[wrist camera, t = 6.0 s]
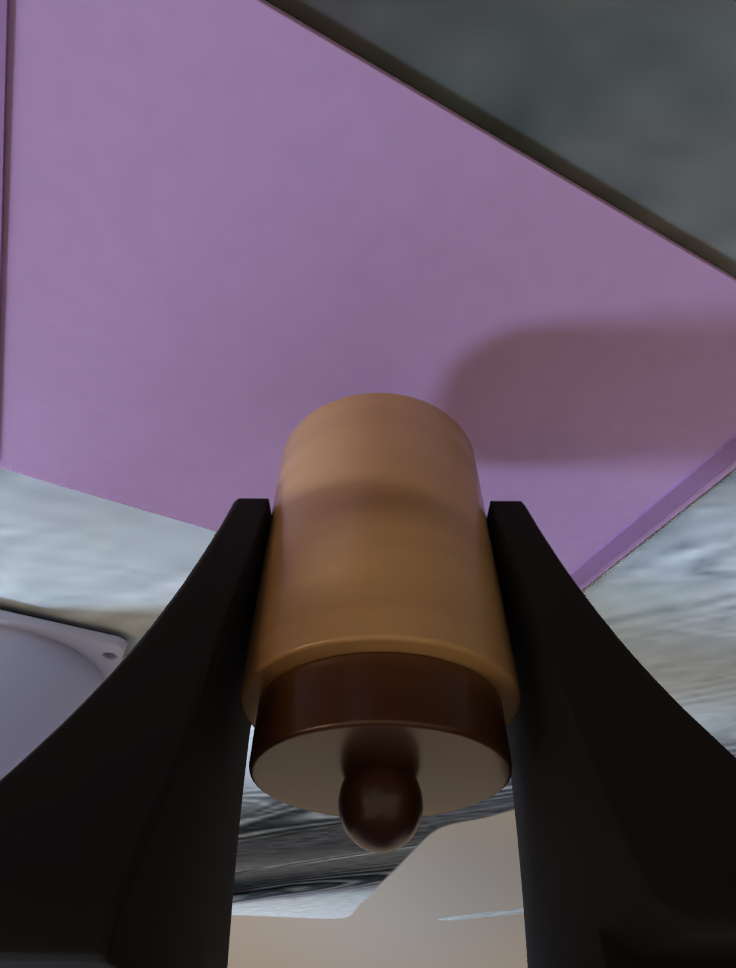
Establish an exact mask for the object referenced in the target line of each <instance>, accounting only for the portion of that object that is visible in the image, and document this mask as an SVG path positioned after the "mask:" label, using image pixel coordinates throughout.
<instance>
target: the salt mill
mask: <svg viewBox="0 0 736 968" xmlns="http://www.w3.org/2000/svg"><path fill="white" fill-rule="evenodd" d="M520 700H521V693H520V688H519V683H518V677H517V672H516V667H515V662H514V657H513V652H512V646H511V641H510V636H509V631H508V626H507V621H506V616H505V610H504V605H503V600H502V595H501V590H500V585H499V579H498V574H497V569H496V564H495V559H494V554H493V549H492V543H491V538H490V533H489V528H488V523H487V518H486V512H485V507H484V502H483V497H482V492H481V487H480V482H479V476H478V471H477V466H476V461H475V456H474V451H473V448H472V445H471V442H470V440H469V438H468V437H467V435H466V433H465V432H464V430H463V429H462V428H461V427H460V426H459V424H458V423H457V422H456V421H455V420H454V419H452V418H451V417H450V416H449V415H448V414H447V413H445V412H443V411H442V410H440V409H439V408H437V407H436V406H433V405H431V404H429V403H427V402H425V401H422V400H419V399H416V398H413V397H410V396H405V395H400V394H392V393H365V394H357V395H352V396H348V397H344V398H341V399H338V400H335V401H332V402H330V403H328V404H326V405H324V406H322V407H320V408H318V409H317V410H315V411H314V412H312V413H311V414H309V415H308V416H307V417H306V418H305V419H304V420H302V421H301V422H300V423H299V424H298V425H297V427H296V428H295V429H294V430H293V431H292V433H291V435H290V436H289V438H288V440H287V442H286V444H285V447H284V449H283V454H282V459H281V464H280V470H279V476H278V481H277V487H276V493H275V498H274V504H273V510H272V516H271V521H270V527H269V533H268V538H267V544H266V550H265V555H264V561H263V566H262V572H261V578H260V583H259V589H258V595H257V600H256V606H255V612H254V617H253V623H252V629H251V634H250V640H249V646H248V651H247V657H246V663H245V668H244V674H243V680H242V685H241V691H240V704H241V707H242V710H243V712H244V715H245V716H246V718H247V719H248V721H249V722H250V723H251V724H252V725H253V726H254V727H255V729H254V736H253V742H252V749H251V756H250V762H249V771H250V775H251V778H252V780H253V782H254V783H255V784H256V785H257V787H259V788H260V789H261V790H262V791H263V792H265V793H266V794H268V795H269V796H271V797H273V798H275V799H277V800H279V801H281V802H284V803H286V804H289V805H292V806H294V807H298V808H301V809H305V810H309V811H313V812H317V813H322V814H328V815H334V816H340V820H341V823H342V825H343V828H344V829H345V831H346V833H347V834H348V836H349V837H350V838H351V839H352V840H353V841H354V842H355V843H356V844H357V845H358V846H360V847H361V848H363V849H365V850H367V851H371V852H374V853H388V852H392V851H395V850H397V849H399V848H401V847H402V846H404V845H405V844H406V843H407V842H408V841H409V840H410V839H411V838H412V837H413V836H414V834H415V833H416V831H417V829H418V827H419V824H420V822H421V818H422V816H429V815H435V814H441V813H446V812H450V811H455V810H458V809H462V808H465V807H468V806H471V805H474V804H476V803H479V802H481V801H483V800H486V799H488V798H490V797H491V796H493V795H495V794H496V793H498V792H499V791H500V790H501V789H503V788H504V787H505V785H506V784H507V783H508V782H509V780H510V777H511V775H512V767H513V765H512V759H511V753H510V747H509V741H508V735H507V729H506V727H507V726H508V725H509V724H510V723H511V722H512V720H513V719H514V717H515V716H516V714H517V712H518V709H519V707H520Z"/></svg>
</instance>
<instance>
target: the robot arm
mask: <svg viewBox="0 0 736 968" xmlns="http://www.w3.org/2000/svg"><path fill="white" fill-rule="evenodd" d="M271 516H272V514H271V508H270V502H269V499H267V498H238V499H237V500H236V501H235V502H234V503H233V505H232V507H231V508H230V510H229V512H228V514H227V516H226V517H225V519H224V521H223V523H222V524H221V526H220V528H219V530H218V531H217V533H216V534H215V536H214V538H213V539H212V541H211V543H210V544H209V546H208V547H207V549H206V551H205V552H204V554H203V555H202V557H201V558H200V560H199V561H198V563H197V564H196V566H195V567H194V569H193V570H192V572H191V573H190V574H189V576H188V577H187V579H186V580H185V582H184V583H183V585H182V586H181V588H180V589H179V590H178V592H177V593H176V594H175V596H174V597H173V598H172V600H171V601H170V602H169V604H168V605H167V606H166V608H165V609H164V610H163V612H162V613H161V614H160V616H159V617H158V618H157V620H156V621H155V622H154V624H153V625H152V626H151V627H150V629H149V630H148V631H147V632H146V633H145V635H144V636H143V637H142V638H141V640H140V641H139V642H138V643H137V644H136V646H135V647H134V648H133V649H132V650H131V651H130V653H129V654H128V655H127V656H126V657H125V658H124V659H123V656H124V653H125V650H126V648H127V642H126V641H125V640H124V639H123V638H121V637H118V636H115V635H110V634H106V633H102V632H97V631H93V630H88V629H84V628H79V627H75V626H71V625H66V624H62V623H57V622H53V621H49V620H44V619H40V618H35V617H31V616H26V615H22V614H18V613H13V612H9V611H4V610H0V968H227V965H228V950H229V936H230V925H231V912H232V900H233V887H234V877H235V866H236V855H237V844H238V834H239V824H240V814H241V805H242V795H243V786H244V777H245V768H246V760H247V751H248V743H249V734H250V728H251V723H250V722H249V721H248V719H247V718H246V716H245V715H244V712H243V710H242V707H241V704H240V691H241V685H242V680H243V674H244V668H245V663H246V657H247V651H248V646H249V640H250V634H251V629H252V623H253V617H254V612H255V606H256V600H257V595H258V589H259V583H260V578H261V572H262V566H263V561H264V555H265V550H266V544H267V538H268V533H269V527H270V521H271ZM487 523H488V528H489V533H490V538H491V543H492V549H493V554H494V559H495V564H496V569H497V574H498V579H499V585H500V590H501V595H502V600H503V605H504V610H505V616H506V621H507V626H508V631H509V636H510V641H511V646H512V652H513V657H514V662H515V667H516V672H517V677H518V683H519V688H520V693H521V700H520V707H519V709H518V712H517V714H516V716H515V717H514V719H513V720H512V722H511V723H510V724H509V725H508V726H507V727H506V729H507V735H508V741H509V747H510V753H511V759H512V765H513V767H512V775H511V780H512V789H513V798H514V808H515V816H516V827H517V835H518V836H517V837H518V848H519V859H520V869H521V881H522V892H523V906H524V920H525V932H526V947H527V963H528V968H736V758H735V757H734V756H733V755H732V754H731V753H730V752H729V751H728V750H727V749H726V748H725V747H724V746H722V745H721V744H720V743H719V742H718V741H717V740H716V739H715V738H714V737H713V736H712V735H711V734H710V733H709V732H708V731H706V730H705V729H704V728H703V727H702V726H701V725H700V724H699V723H698V722H697V721H696V720H695V719H694V718H693V717H692V716H691V715H689V714H688V713H687V712H686V711H685V710H684V709H683V708H682V707H681V706H680V705H679V704H678V703H677V702H676V701H675V700H674V699H673V698H672V697H671V696H670V695H669V694H668V692H667V691H666V690H665V689H664V688H663V687H662V686H661V685H660V684H659V683H658V682H657V681H656V680H655V679H654V678H653V677H652V676H651V675H650V674H649V672H648V671H647V670H646V669H645V668H644V667H643V666H642V665H641V664H640V663H639V661H638V660H637V659H636V658H635V657H634V656H633V655H632V654H631V652H630V651H629V650H628V649H627V648H626V647H625V645H624V644H623V643H622V642H621V641H620V640H619V638H618V637H617V636H616V635H615V634H614V632H613V631H612V630H611V629H610V627H609V626H608V625H607V624H606V622H605V621H604V620H603V619H602V617H601V616H600V615H599V614H598V612H597V611H596V610H595V608H594V607H593V606H592V604H591V603H590V602H589V601H588V599H587V598H586V597H585V595H584V594H583V592H582V591H581V590H580V588H579V587H578V585H577V584H576V583H575V581H574V580H573V578H572V577H571V576H570V574H569V573H568V572H567V570H566V569H565V567H564V566H563V564H562V563H561V561H560V560H559V558H558V557H557V555H556V554H555V552H554V551H553V549H552V548H551V546H550V545H549V543H548V542H547V540H546V539H545V537H544V535H543V534H542V532H541V531H540V529H539V527H538V526H537V524H536V523H535V521H534V519H533V518H532V516H531V514H530V513H529V511H528V509H527V508H526V506H525V505H524V504H523V503H522V502H521V501H490V505H489V509H488V514H487ZM122 659H123V661H122Z"/></svg>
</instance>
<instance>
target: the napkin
mask: <svg viewBox="0 0 736 968" xmlns="http://www.w3.org/2000/svg"><path fill="white" fill-rule="evenodd" d="M365 393H392V394H400V395H405V396H410V397H413V398H416V399H419V400H422V401H425V402H427V403H429V404H431V405H433V406H436V407H437V408H439V409H440V410H442V411H443V412H445V413H447V414H448V415H449V416H450V417H451V418H452V419H454V420H455V421H456V422H457V423H458V424H459V426H460V427H461V428H462V429H463V430H464V432H465V433H466V435H467V437H468V438H469V440H470V442H471V445H472V448H473V451H474V456H475V461H476V466H477V471H478V476H479V482H480V487H481V492H482V497H483V502H484V507H485V512H486V518H487V514H488V509H489V505H490V501H521V502H522V503H523V504H524V505H525V506H526V508H527V509H528V511H529V513H530V514H531V516H532V518H533V519H534V521H535V523H536V524H537V526H538V527H539V529H540V531H541V532H542V534H543V535H544V537H545V539H546V540H547V542H548V543H549V545H550V546H551V548H552V549H553V551H554V552H555V554H556V555H557V557H558V558H559V560H560V561H561V563H562V564H563V566H564V567H565V569H566V570H567V572H568V573H569V574H570V576H571V577H572V578H573V580H574V581H575V583H576V584H577V585H578V587H579V588H580V590H581V591H582V590H583V589H584V588H585V587H587V586H588V585H589V584H590V583H592V582H593V581H594V580H595V579H597V578H598V577H599V576H600V575H602V574H603V573H604V572H606V571H607V570H608V569H609V568H611V567H612V566H613V565H614V564H616V563H617V562H618V561H619V560H621V559H622V558H623V557H624V556H626V555H627V554H628V553H629V552H631V551H632V550H633V549H634V548H636V547H637V546H638V545H639V544H641V543H642V542H643V541H644V540H646V539H647V538H648V537H650V536H651V535H652V534H653V533H655V532H656V531H657V530H658V529H660V528H661V527H662V526H663V525H665V524H666V523H667V522H668V521H670V520H671V519H672V518H673V517H675V516H676V515H677V514H678V513H680V512H681V511H682V510H683V509H685V508H686V507H687V506H688V505H690V504H691V503H692V502H694V501H695V500H696V499H697V498H699V497H700V496H701V495H702V494H704V493H705V492H706V491H707V490H709V489H710V488H711V487H712V486H714V485H715V484H716V483H717V482H719V481H720V480H721V479H722V478H724V477H725V476H726V475H727V474H729V473H730V472H731V471H732V470H734V469H735V468H736V278H735V277H733V276H731V275H730V274H728V273H726V272H725V271H723V270H721V269H720V268H718V267H716V266H714V265H713V264H711V263H709V262H708V261H706V260H704V259H703V258H701V257H699V256H698V255H696V254H694V253H692V252H691V251H689V250H687V249H686V248H684V247H682V246H681V245H679V244H677V243H675V242H674V241H672V240H670V239H669V238H667V237H665V236H664V235H662V234H660V233H659V232H657V231H655V230H653V229H652V228H650V227H648V226H647V225H645V224H643V223H642V222H640V221H638V220H636V219H635V218H633V217H631V216H630V215H628V214H626V213H625V212H623V211H621V210H619V209H618V208H616V207H614V206H613V205H611V204H609V203H608V202H606V201H604V200H603V199H601V198H599V197H597V196H596V195H594V194H592V193H591V192H589V191H587V190H586V189H584V188H582V187H580V186H579V185H577V184H575V183H574V182H572V181H570V180H569V179H567V178H565V177H564V176H562V175H560V174H558V173H557V172H555V171H553V170H552V169H550V168H548V167H547V166H545V165H543V164H541V163H540V162H538V161H536V160H535V159H533V158H531V157H530V156H528V155H526V154H524V153H523V152H521V151H519V150H518V149H516V148H514V147H513V146H511V145H509V144H508V143H506V142H504V141H502V140H501V139H499V138H497V137H496V136H494V135H492V134H491V133H489V132H487V131H485V130H484V129H482V128H480V127H479V126H477V125H475V124H474V123H472V122H470V121H469V120H467V119H465V118H463V117H462V116H460V115H458V114H457V113H455V112H453V111H452V110H450V109H448V108H446V107H445V106H443V105H441V104H440V103H438V102H436V101H435V100H433V99H431V98H429V97H428V96H426V95H424V94H423V93H421V92H419V91H418V90H416V89H414V88H413V87H411V86H409V85H407V84H406V83H404V82H402V81H401V80H399V79H397V78H396V77H394V76H392V75H390V74H389V73H387V72H385V71H384V70H382V69H380V68H379V67H377V66H375V65H374V64H372V63H370V62H368V61H367V60H365V59H363V58H362V57H360V56H358V55H357V54H355V53H353V52H351V51H350V50H348V49H346V48H345V47H343V46H341V45H340V44H338V43H336V42H334V41H333V40H331V39H329V38H328V37H326V36H324V35H323V34H321V33H319V32H318V31H316V30H314V29H312V28H311V27H309V26H307V25H306V24H304V23H302V22H301V21H299V20H297V19H295V18H294V17H292V16H290V15H289V14H287V13H285V12H284V11H282V10H280V9H279V8H277V7H275V6H273V5H272V4H270V3H268V2H267V1H265V0H0V468H3V469H6V470H9V471H13V472H16V473H20V474H23V475H26V476H30V477H33V478H37V479H40V480H43V481H47V482H50V483H54V484H57V485H60V486H64V487H67V488H71V489H74V490H77V491H81V492H84V493H88V494H91V495H94V496H98V497H101V498H105V499H108V500H111V501H115V502H118V503H122V504H125V505H128V506H132V507H135V508H139V509H142V510H145V511H149V512H152V513H156V514H159V515H163V516H166V517H169V518H173V519H176V520H180V521H183V522H186V523H190V524H193V525H197V526H200V527H203V528H207V529H210V530H214V531H218V530H219V528H220V526H221V524H222V523H223V521H224V519H225V517H226V516H227V514H228V512H229V510H230V508H231V507H232V505H233V503H234V502H235V501H236V500H237V499H238V498H267V499H269V502H270V508H271V514H272V510H273V504H274V498H275V493H276V487H277V481H278V476H279V470H280V464H281V459H282V454H283V449H284V447H285V444H286V442H287V440H288V438H289V436H290V435H291V433H292V431H293V430H294V429H295V428H296V427H297V425H298V424H299V423H300V422H301V421H302V420H304V419H305V418H306V417H307V416H308V415H309V414H311V413H312V412H314V411H315V410H317V409H318V408H320V407H322V406H324V405H326V404H328V403H330V402H332V401H335V400H338V399H341V398H344V397H348V396H352V395H357V394H365Z"/></svg>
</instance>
